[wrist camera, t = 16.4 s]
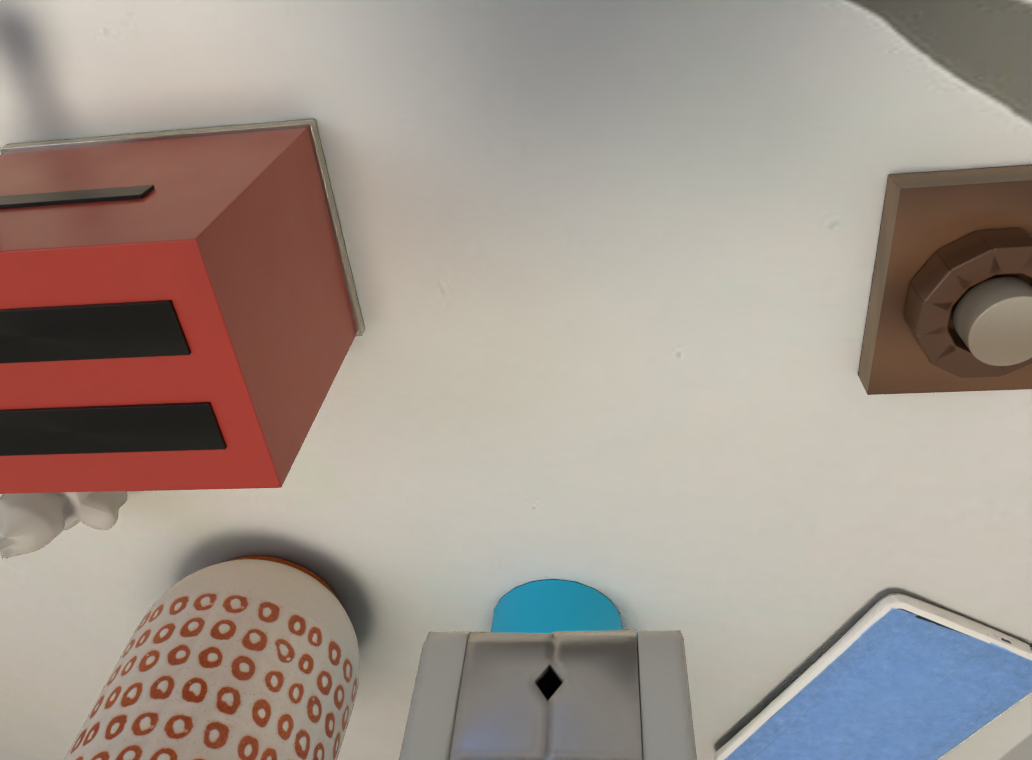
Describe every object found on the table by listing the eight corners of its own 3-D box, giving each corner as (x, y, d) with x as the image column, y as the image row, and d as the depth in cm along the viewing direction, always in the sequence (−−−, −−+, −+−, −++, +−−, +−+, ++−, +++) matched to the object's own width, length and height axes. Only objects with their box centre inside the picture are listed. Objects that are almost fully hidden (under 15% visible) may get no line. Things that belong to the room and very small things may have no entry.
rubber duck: (33, 406, 45) (-65, 505, 38) (151, 449, 46) (76, 553, 39) (26, 472, 48) (-67, 575, 41) (136, 512, 49) (64, 618, 42)
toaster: (6, 143, 36) (-221, 261, 26) (315, 118, 34) (197, 234, 24) (96, 342, 42) (-63, 502, 32) (365, 329, 40) (286, 495, 30)
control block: (888, 174, 34) (915, 206, 31) (1096, 160, 33) (1145, 191, 30) (857, 375, 39) (878, 418, 36) (1035, 368, 38) (1071, 412, 35)
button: (960, 278, 33) (977, 298, 31) (1046, 274, 32) (1067, 294, 31) (946, 346, 34) (960, 368, 33) (1026, 342, 34) (1045, 365, 33)
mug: (487, 578, 49) (469, 696, 43) (622, 580, 48) (626, 701, 42) (502, 699, 56) (488, 818, 49) (621, 703, 55) (624, 825, 48)
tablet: (887, 582, 47) (894, 600, 46) (1062, 654, 49) (1072, 673, 48) (707, 748, 57) (709, 766, 56) (857, 802, 59) (862, 820, 58)
